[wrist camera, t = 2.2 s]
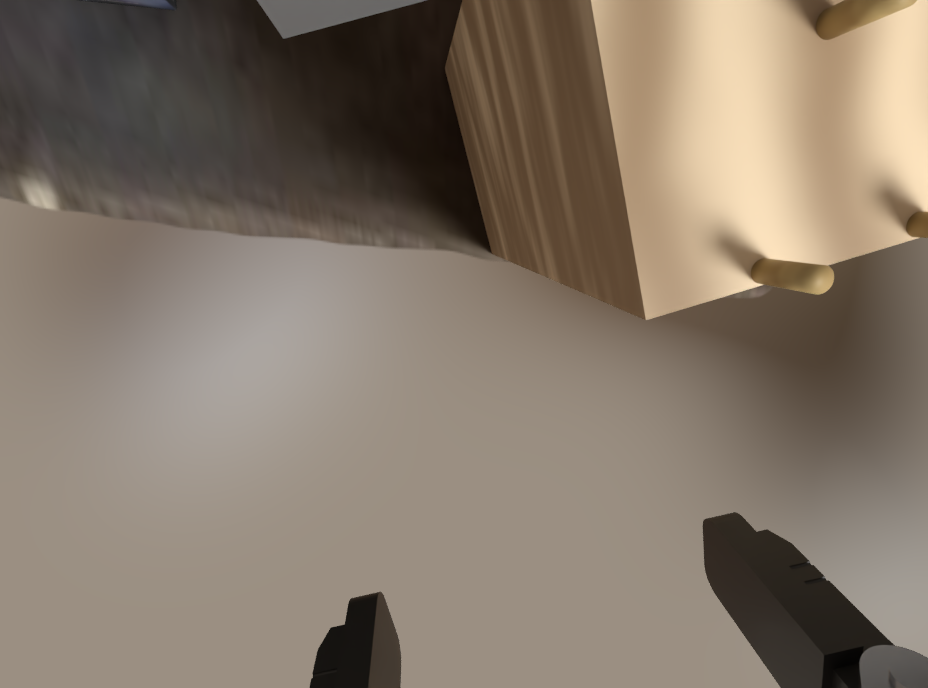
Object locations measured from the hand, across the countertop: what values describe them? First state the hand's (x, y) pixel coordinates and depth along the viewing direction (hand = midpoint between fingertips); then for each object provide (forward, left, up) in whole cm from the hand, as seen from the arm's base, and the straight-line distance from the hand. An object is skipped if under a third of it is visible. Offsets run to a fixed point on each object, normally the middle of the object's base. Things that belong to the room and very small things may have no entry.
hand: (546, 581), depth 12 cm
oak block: (+9, +16, -38) cm, 42 cm away
